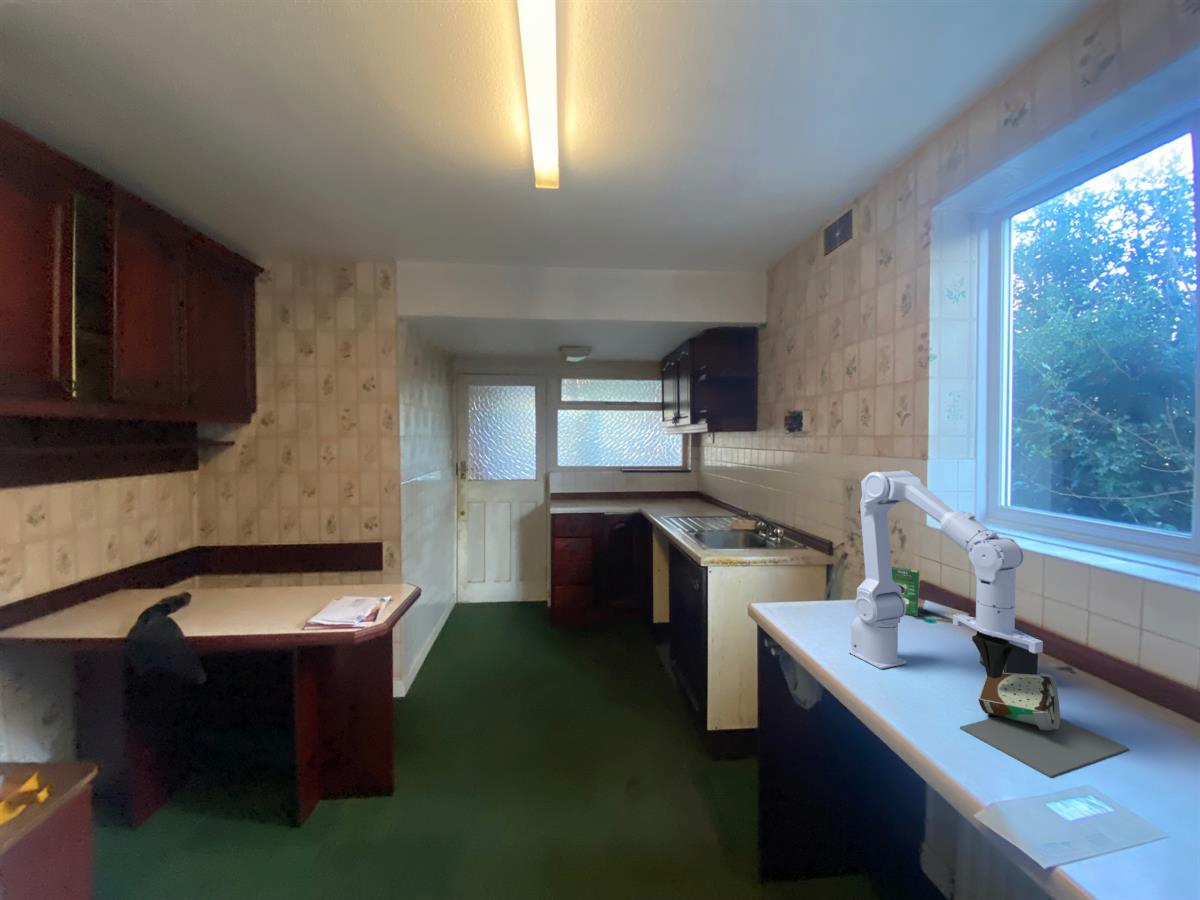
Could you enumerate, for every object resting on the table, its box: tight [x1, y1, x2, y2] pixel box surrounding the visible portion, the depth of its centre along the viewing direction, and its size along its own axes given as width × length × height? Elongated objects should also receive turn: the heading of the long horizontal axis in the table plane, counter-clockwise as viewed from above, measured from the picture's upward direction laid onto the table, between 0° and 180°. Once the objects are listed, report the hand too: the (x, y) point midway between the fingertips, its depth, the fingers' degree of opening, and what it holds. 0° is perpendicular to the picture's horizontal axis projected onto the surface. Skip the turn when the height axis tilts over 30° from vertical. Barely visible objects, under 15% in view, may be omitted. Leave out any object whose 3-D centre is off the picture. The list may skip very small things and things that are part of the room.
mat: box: [959, 716, 1130, 779], centre depth 89 cm, size 14×20×1 cm
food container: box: [977, 672, 1061, 730], centre depth 95 cm, size 12×6×10 cm
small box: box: [979, 623, 1040, 675], centre depth 112 cm, size 11×6×10 cm, turn 168°
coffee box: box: [891, 566, 920, 617], centre depth 150 cm, size 8×3×13 cm, turn 56°
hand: (994, 676), depth 96 cm, fingers closed
